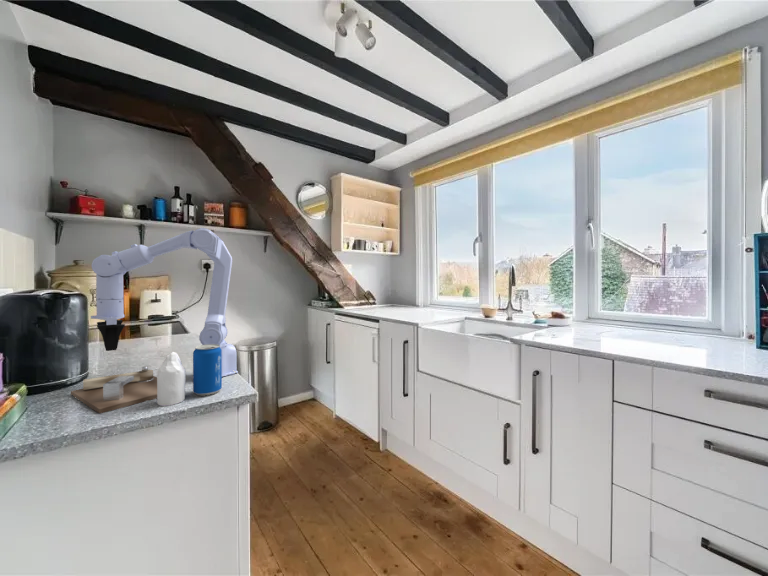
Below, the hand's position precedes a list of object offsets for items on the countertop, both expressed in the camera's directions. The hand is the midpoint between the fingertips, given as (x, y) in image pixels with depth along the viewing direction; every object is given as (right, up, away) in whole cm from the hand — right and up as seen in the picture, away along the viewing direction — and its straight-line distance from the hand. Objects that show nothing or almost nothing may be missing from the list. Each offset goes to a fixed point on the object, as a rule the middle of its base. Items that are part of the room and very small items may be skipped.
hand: (110, 348), depth 88 cm
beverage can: (+30, -11, -6) cm, 33 cm away
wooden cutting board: (+11, -10, -7) cm, 16 cm away
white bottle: (+25, -11, -12) cm, 30 cm away
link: (+5, -9, -3) cm, 11 cm away
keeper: (+11, -9, -6) cm, 16 cm away
